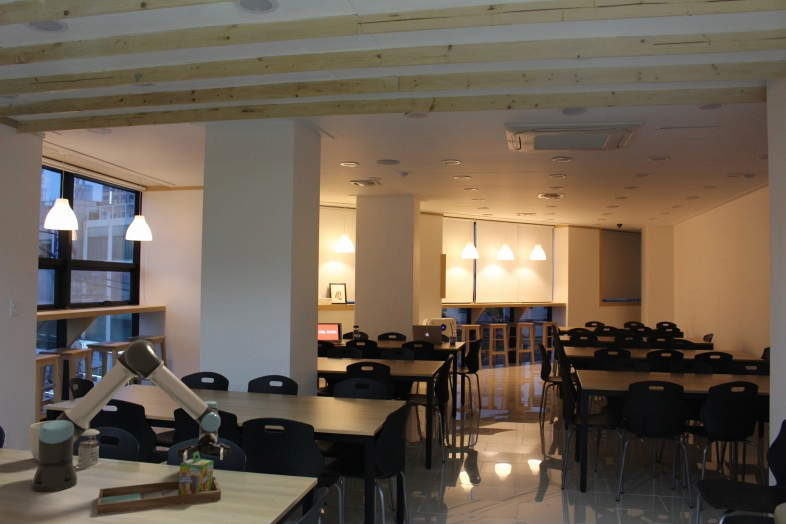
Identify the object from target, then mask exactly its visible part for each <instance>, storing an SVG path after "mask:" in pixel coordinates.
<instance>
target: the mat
mask: <svg viewBox="0 0 786 524" xmlns="http://www.w3.org/2000/svg"><path fill="white" fill-rule="evenodd" d="M139 499H142V498H141V494H140V493H137V494H128V495H119V496H110V497H103V498H102V504H104V503H112V502H121V501H130V500H139Z"/></svg>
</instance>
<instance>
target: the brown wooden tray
mask: <svg viewBox="0 0 786 524" xmlns="http://www.w3.org/2000/svg"><path fill="white" fill-rule="evenodd" d="M212 486H213V487H212V491H208V492H200V493H191V494H182V495H173V496H165V497H164V496H162V497H156V498H147V499H143V498H141V499H139V500H130V501H121V502H112V503H104V504H102V498H103V497H110V496H119V495H128V494H137V493H140V495H143V493H146V492H155V491H161V492H164V490H173V489H179V480H172V481H162V482H153V483H144V484H133V485H124V486H114V487H105V488H100V489H99V493H98V498H97V507H96V515H104V514H110V513H119V512H128V511H129V512H130V511H136V510H137V511H138V510H144V509H151V508H159V507H170V506H177V505H178V506H180V505H185V504H193V503H194V504H195V503H201V502H211V501H219V499H220V500H221V498H222V496H221V495H222V491H221V489H220V488H221V487H220V486H219V483H218V481H217V478H216V477H215V476H213V478H212ZM101 513H102V514H101ZM103 513H104V514H103Z"/></svg>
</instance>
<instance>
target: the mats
mask: <svg viewBox="0 0 786 524" xmlns="http://www.w3.org/2000/svg"><path fill="white" fill-rule="evenodd" d="M178 491H179V489H173V490H164V491H163V496H162V491H155V492H146V493H142V497H143V498H142V499H147V498H156V497H165V496H173V495H178Z"/></svg>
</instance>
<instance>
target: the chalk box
mask: <svg viewBox="0 0 786 524" xmlns="http://www.w3.org/2000/svg"><path fill="white" fill-rule="evenodd" d="M196 456H197V458H196ZM179 465H180V466H179V478H178V479H179V480H178V481H179V491H178V495H182V494H191V493H200V492H208V491H213V487H212V478H213V477H214V476H213V474H214V460H210V459H204V458H201V456H200V453H199V451H197V452H195V453H193V454H192V458H190V459H186V461H185V462H181V463H180V464H179Z"/></svg>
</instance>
